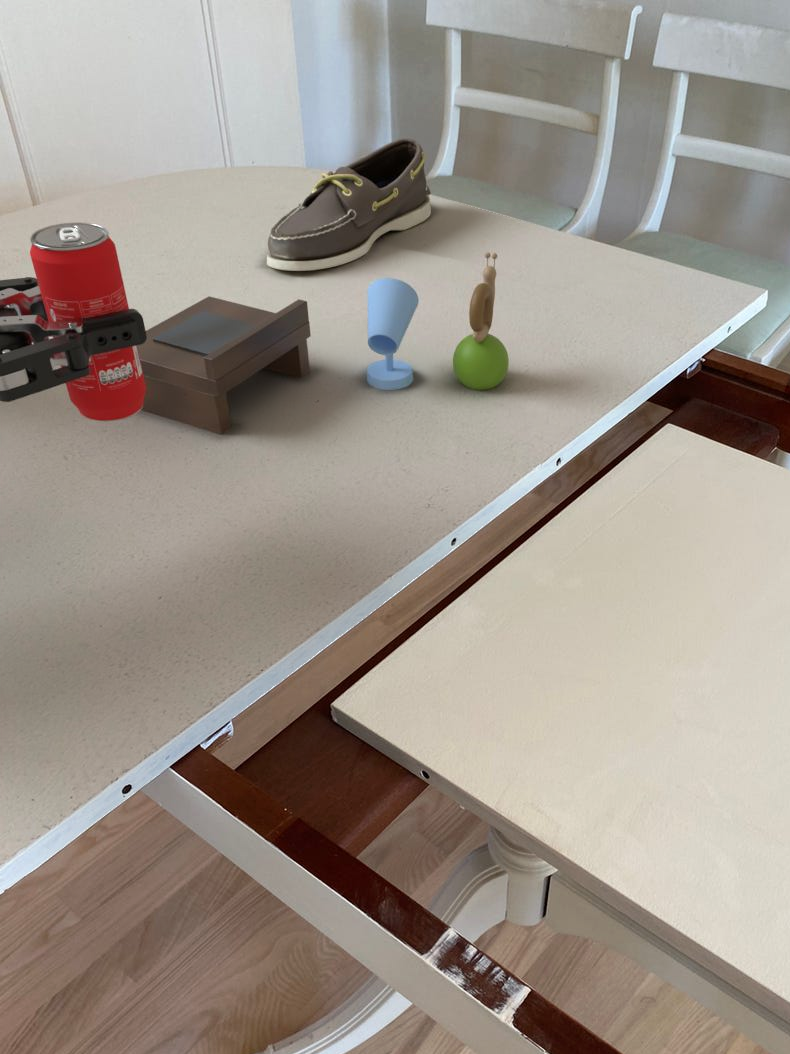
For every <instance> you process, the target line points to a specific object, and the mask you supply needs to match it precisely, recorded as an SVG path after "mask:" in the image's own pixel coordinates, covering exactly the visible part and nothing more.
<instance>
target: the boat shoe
mask: <svg viewBox="0 0 790 1054" xmlns="http://www.w3.org/2000/svg"><path fill="white" fill-rule="evenodd" d="M425 162H426V156H425V153H424V150H423V148H422V146H421V144H420V143H419V142H418V141H416V140H415V139H414V138H411V137H402V138H399V139H396V140H394V141H391V142H388V143H387V144H385V145H383V146H381V147H379V148H377V149H374V151H372V152H370V153H368V154H366V155H364V156H362V157H360V158H359V159H357V160H355V161H352V162H351V163H349V164H348V165H346V166H340V167H338V168H337V169H336V170H335V172H333V171H331V170H329V171H328V172H327V173H325V172H321V177H322V179H320V180H319V181H317V182H316V184H314V186H313V189H312V191H311V192H310V194H308V196H306V197H305V198H304V199H303V202H302V203H298V206H297V207H295V208H293V209H292V210H291V211H289V212H288V213H286V214H285V215H284V216H282V217H281V218H280V219H279V220H278V221H277V222H276V223H275V224H274V225H273V227H271V229H270V233H269V236H268V239H267V248H268V251H269V252H268V254H267V255H266V265H267V266H268V267H270V268H272V269H276V270H280V271H290V272H291V271H292V272H293V271H294V272H302V271H303V272H304V271H316V270H324V269H329V268H333V267H337V266H341V265H345V264H347V263H348V264H349V263H350V262H352V261H355V260H357V259H359V258H361V257H363V256H365V255H366V254H367V253H368V252H370V249H371V247H372V245H373V244H374V243H375V241H376V240H378V238H380V237H382V235H384V234H386V233H388V232H389V231H406V230H408V229H410V228H413V227H415V226H417V225H419V224H421V223H423V222H425V221H426V220H428V219H429V217H430V216H431V214H432V211H431V210H432V209H431V208H432V207H431V198H430V195H431V193H432V191H431V190H430V187H429V186H428V185H427V178H426V174H425Z"/></svg>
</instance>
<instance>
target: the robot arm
mask: <svg viewBox="0 0 790 1054" xmlns="http://www.w3.org/2000/svg"><path fill="white" fill-rule="evenodd" d="M81 320H82V322H81V321H77V320H73V321H56V322H49V321H48V318H47V314H46V310H45V307H44V303H43V299H42V296H41V292H40V289H39V285H38V281H37V278H36V277H32V276H26V277H20V278H19V277H18V278H17V277H16V278H9V279H0V402H1V403H9V402H14V401H17V400H19V399H23V398H26V397H28V396H32V395H34V394H37V393H38V394H39V393H40V392H43V391H46V390H50V389H53V388H56V387H58V386H62V385H64V384H66V383H67V382H70V381H73V380H76V379H79V378H82V377H85V376H87V375H89V374H90V373H91V371H90V367H89V362H90V361H91V360H92V357H91V355H95V354H100V353H104V352H109V351H114V350H118V349H123V348H127V347H132V346H136V345H141V344H143V343H144V342H145V341H146V339H147V335H146V331H147V330H146V326H145V321H144V317H143V316H142V314H141V312H139V311H138V310H137V309H135V308H129V309H127V310H122V311H117V312H112V313H107V314H103V315H99V316H94V317H88V318H83V319H81ZM53 336H58V337H55V338H53ZM50 337H52V338H50ZM61 365H68V366H64V367H61ZM58 366H60V367H59V368H58ZM55 367H57V368H55Z"/></svg>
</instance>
